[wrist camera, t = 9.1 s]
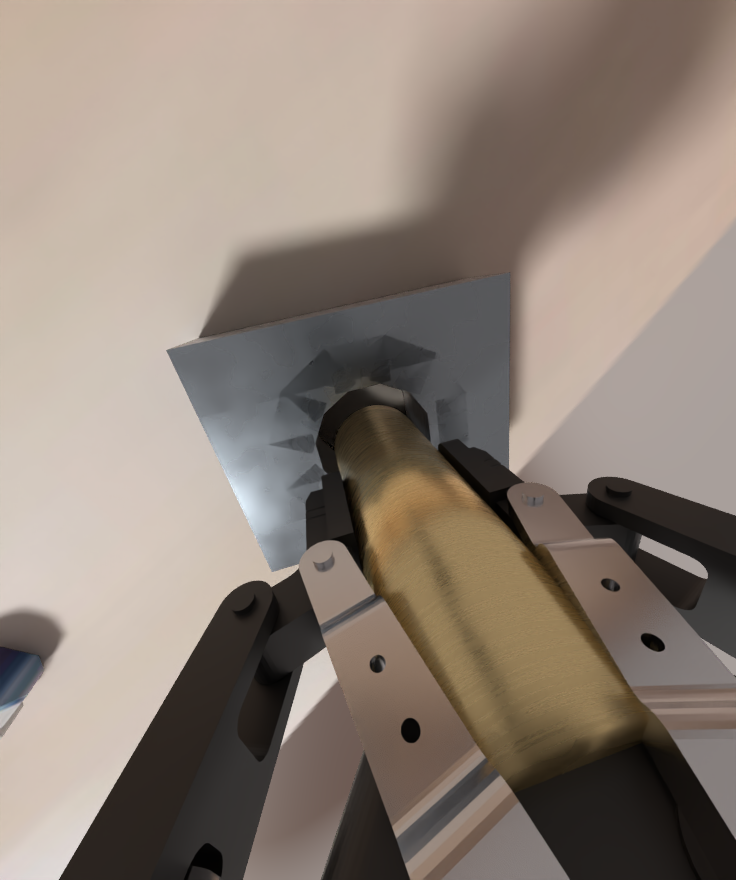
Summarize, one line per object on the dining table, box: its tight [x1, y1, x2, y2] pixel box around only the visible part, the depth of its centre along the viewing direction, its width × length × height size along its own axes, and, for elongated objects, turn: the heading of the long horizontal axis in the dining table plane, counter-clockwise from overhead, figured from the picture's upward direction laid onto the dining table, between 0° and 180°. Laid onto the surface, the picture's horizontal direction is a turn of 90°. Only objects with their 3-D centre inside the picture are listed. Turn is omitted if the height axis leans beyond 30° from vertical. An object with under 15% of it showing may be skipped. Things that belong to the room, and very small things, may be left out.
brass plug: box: [335, 405, 650, 793], centre depth 10 cm, size 4×4×12 cm
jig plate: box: [166, 272, 510, 572], centre depth 17 cm, size 12×14×4 cm
